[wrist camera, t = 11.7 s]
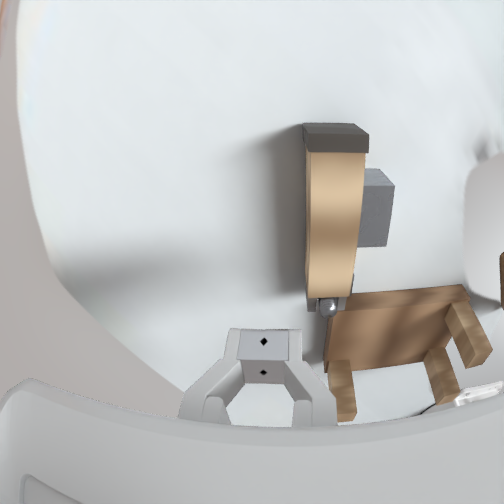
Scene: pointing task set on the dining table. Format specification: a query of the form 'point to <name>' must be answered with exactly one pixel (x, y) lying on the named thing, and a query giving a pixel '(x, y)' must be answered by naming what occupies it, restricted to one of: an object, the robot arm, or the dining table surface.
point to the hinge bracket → (330, 305)
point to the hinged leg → (332, 207)
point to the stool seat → (402, 339)
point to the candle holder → (502, 278)
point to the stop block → (375, 209)
